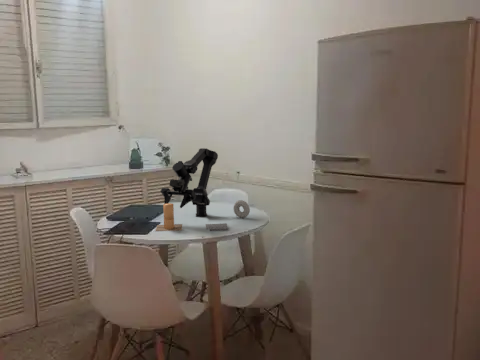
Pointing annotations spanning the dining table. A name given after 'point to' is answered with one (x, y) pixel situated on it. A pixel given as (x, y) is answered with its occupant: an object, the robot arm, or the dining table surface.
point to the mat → (217, 227)
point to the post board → (176, 228)
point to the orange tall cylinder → (168, 216)
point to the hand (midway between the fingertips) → (172, 207)
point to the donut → (245, 207)
